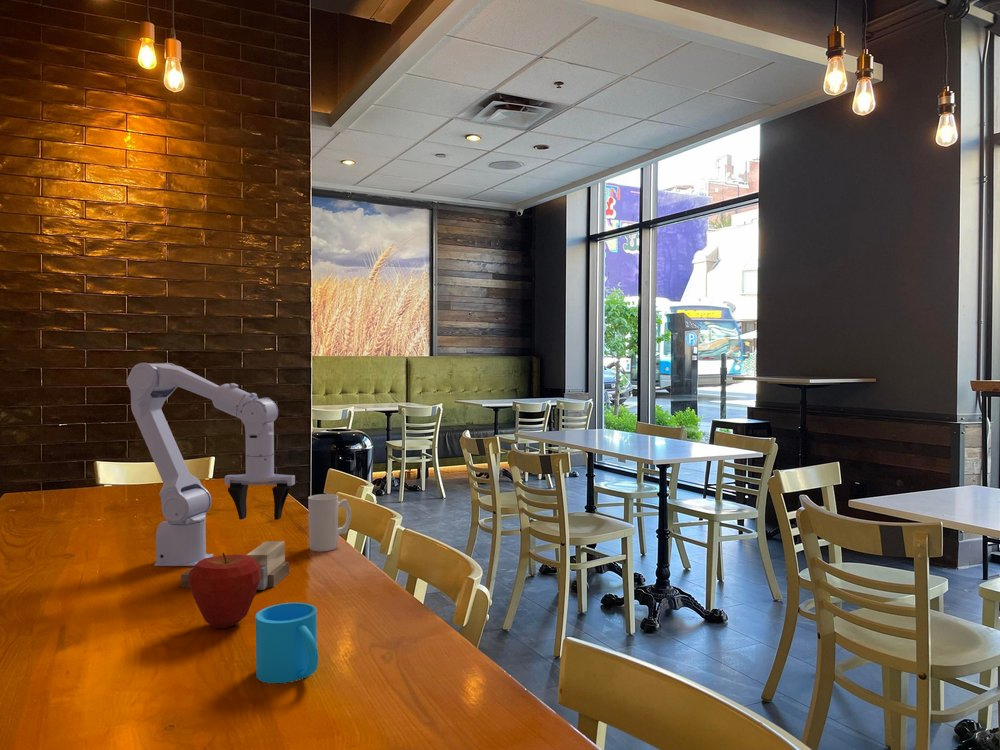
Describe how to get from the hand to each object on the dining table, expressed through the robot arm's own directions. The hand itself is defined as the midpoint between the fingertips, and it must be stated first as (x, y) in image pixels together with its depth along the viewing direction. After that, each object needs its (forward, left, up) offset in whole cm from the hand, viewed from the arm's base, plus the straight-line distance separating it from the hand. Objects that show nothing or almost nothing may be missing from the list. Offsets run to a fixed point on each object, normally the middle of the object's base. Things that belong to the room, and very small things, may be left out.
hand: (260, 518), depth 150 cm
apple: (+7, -35, -10) cm, 37 cm away
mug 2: (+11, +14, -10) cm, 21 cm away
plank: (-1, -11, -10) cm, 15 cm away
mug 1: (+24, -53, -10) cm, 59 cm away
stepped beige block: (+5, -12, -9) cm, 16 cm away
